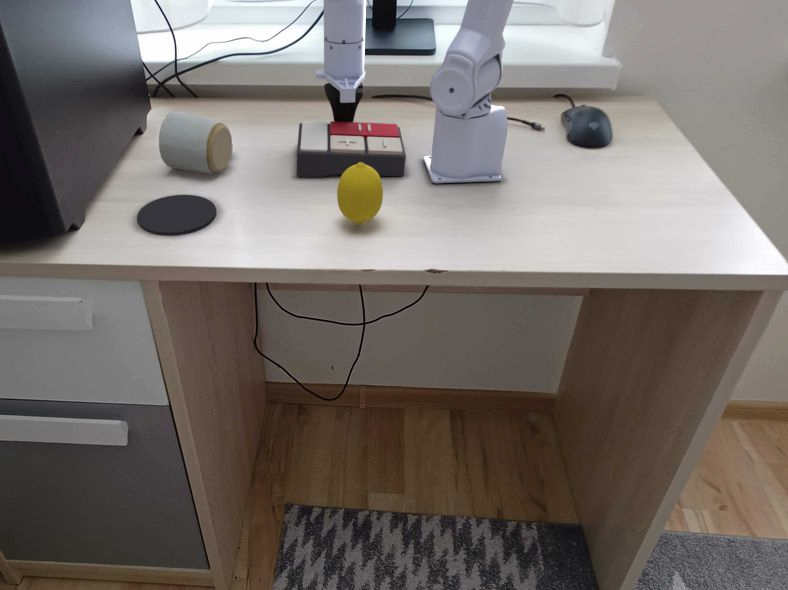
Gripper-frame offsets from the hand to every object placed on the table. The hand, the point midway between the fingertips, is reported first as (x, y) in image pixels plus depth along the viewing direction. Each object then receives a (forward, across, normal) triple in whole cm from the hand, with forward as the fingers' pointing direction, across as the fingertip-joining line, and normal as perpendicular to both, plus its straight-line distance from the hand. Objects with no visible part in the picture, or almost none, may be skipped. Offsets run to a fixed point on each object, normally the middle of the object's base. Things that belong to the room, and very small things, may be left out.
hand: (343, 134), depth 99 cm
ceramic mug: (+2, +6, -21) cm, 22 cm away
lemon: (+2, +25, 0) cm, 25 cm away
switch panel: (+2, +6, 0) cm, 7 cm away
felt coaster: (+2, +21, -23) cm, 31 cm away
